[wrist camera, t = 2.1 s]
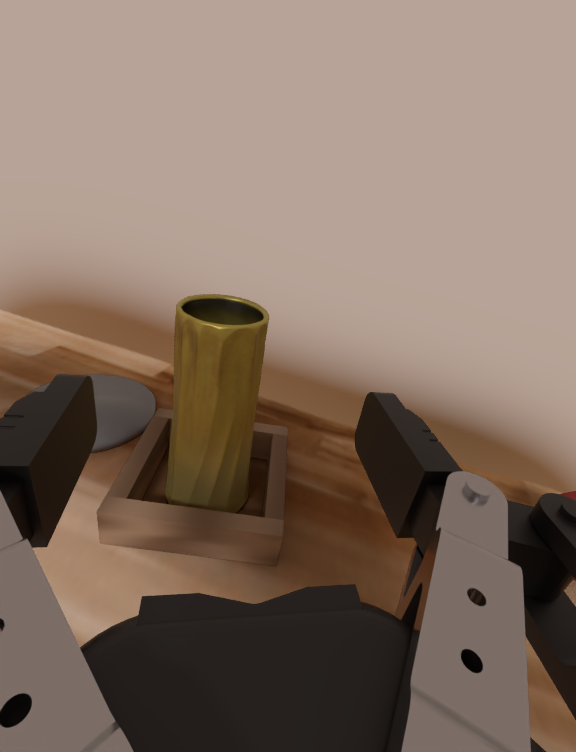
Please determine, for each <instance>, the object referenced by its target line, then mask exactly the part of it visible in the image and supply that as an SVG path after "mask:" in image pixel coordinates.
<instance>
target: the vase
mask: <svg viewBox="0 0 576 752" xmlns="http://www.w3.org/2000/svg"><path fill="white" fill-rule="evenodd" d="M268 322H269V314H268V313H267V311H266V310H265V309H264V308H263V307H261V306H260V305H258V304H257V303H254V302H252V301H249V300H246V299H242V298H238V297H234V296H228V295H219V294H203V295H194V296H189V297H186V298H184V299H182V300H181V301H180V302H178V304H177V305H176V317H175V336H174V337H175V339H174V392H173V414H172V427H171V437H170V447H169V458H168V470H167V483H166V486H165V495H166V498H167V501H168V503H169V505H177V506H184V507H191V508H199V509H206V510H213V511H221V512H228V513H236V512H237V511H239V510H240V509H241V508H242V506H243V505H244V504H245V502H246V500H247V498H248V494H249V480H248V474H249V465H250V457H251V448H252V439H253V429H254V421H255V414H256V405H257V398H258V391H259V385H260V378H261V371H262V364H263V357H264V349H265V340H266V334H267V327H268Z"/></svg>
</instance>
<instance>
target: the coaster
mask: <svg viewBox="0 0 576 752" xmlns="http://www.w3.org/2000/svg"><path fill="white" fill-rule="evenodd" d="M84 376H90V377H91V378H92V382H93V389H94V398H95V407H96V417H97V435H96V440H95V444H94V446H93V448H92V451H91V453H94V452H99V451H104V450H108V449H111V448H115V447H117V446H120V445H123V444H125V443H127V442H129V441H131V440H133V439H135V438H136V437H138V436H139V435H141V434H142V433H143V432H144V431H145V430H146V428H147V426H148V425H149V423H150V421H151V420H152V418H153V416H154V415H155V413H156V401H155V397H154V395H153V394H152V392H151V391H150V390H149V389H148V388H147V387H146V386H144V385H142V384H141V383H139V382H137V381H134V380H131V379H128V378H125V377H120V376H114V375H102V374H93V375H84ZM49 384H50V383H48V384H45V385H43V386H41V387H39V388H37V389H35V390H34V391H37V392H44V391H45V389H46V388H47V387H48V386H49ZM34 391H32V392H34ZM32 392H30V393H32ZM30 393H29V394H30ZM29 394H28V395H29ZM26 396H27V395H26Z"/></svg>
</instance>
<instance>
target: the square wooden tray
mask: <svg viewBox="0 0 576 752" xmlns="http://www.w3.org/2000/svg"><path fill="white" fill-rule="evenodd" d="M172 414H173V410H171V409H165V408H158V410H157V411H156V413H155V415H154V416H153V418H152V420H151V421H150V423H149V425H148V426H147V428H146V430H145V431H144V433H143V435H142V436H141V438H140V440H139V441H138V443H137V445H136V446H135V448H134V450H133V451H132V453H131V455H130V457H129V458H128V460H127V462H126V463H125V465H124V467H123V468H122V470H121V472H120V473H119V475H118V477H117V478H116V480H115V482H114V483H113V485H112V487H111V488H110V490H109V492H108V493H107V495H106V497H105V498H104V500H103V502H102V504H101V505H100V507H99V509H98V510H97V519H98V529H99V538H100V543H101V544H109V545H116V546H124V547H132V548H140V549H147V550H155V551H163V552H171V553H178V554H186V555H194V556H202V557H209V558H217V559H225V560H233V561H241V562H248V563H256V564H264V565H272V566H276V565H277V560H278V556H279V552H280V548H281V544H282V540H283V531H284V506H285V481H286V456H287V431H288V427H283V426H277V425H270V424H264V423H257V422H254V429H253V439H252V448H251V457H254V458H260V459H267V460H268V465H267V475H266V484H265V494H264V503H263V513H262V517H257V516H250V515H243V514H235V513H228V512H221V511H213V510H206V509H199V508H191V507H184V506H177V505H169V504H162V503H155V502H147V501H142V499H143V497H144V495H145V493H146V490H147V488H148V486H149V484H150V482H151V480H152V478H153V476H154V474H155V472H156V470H157V467H158V465H159V463H160V461H161V459H162V457H163V455H164V453H165V451H166V449H167V447H168V445H170V437H171V427H172Z"/></svg>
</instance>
